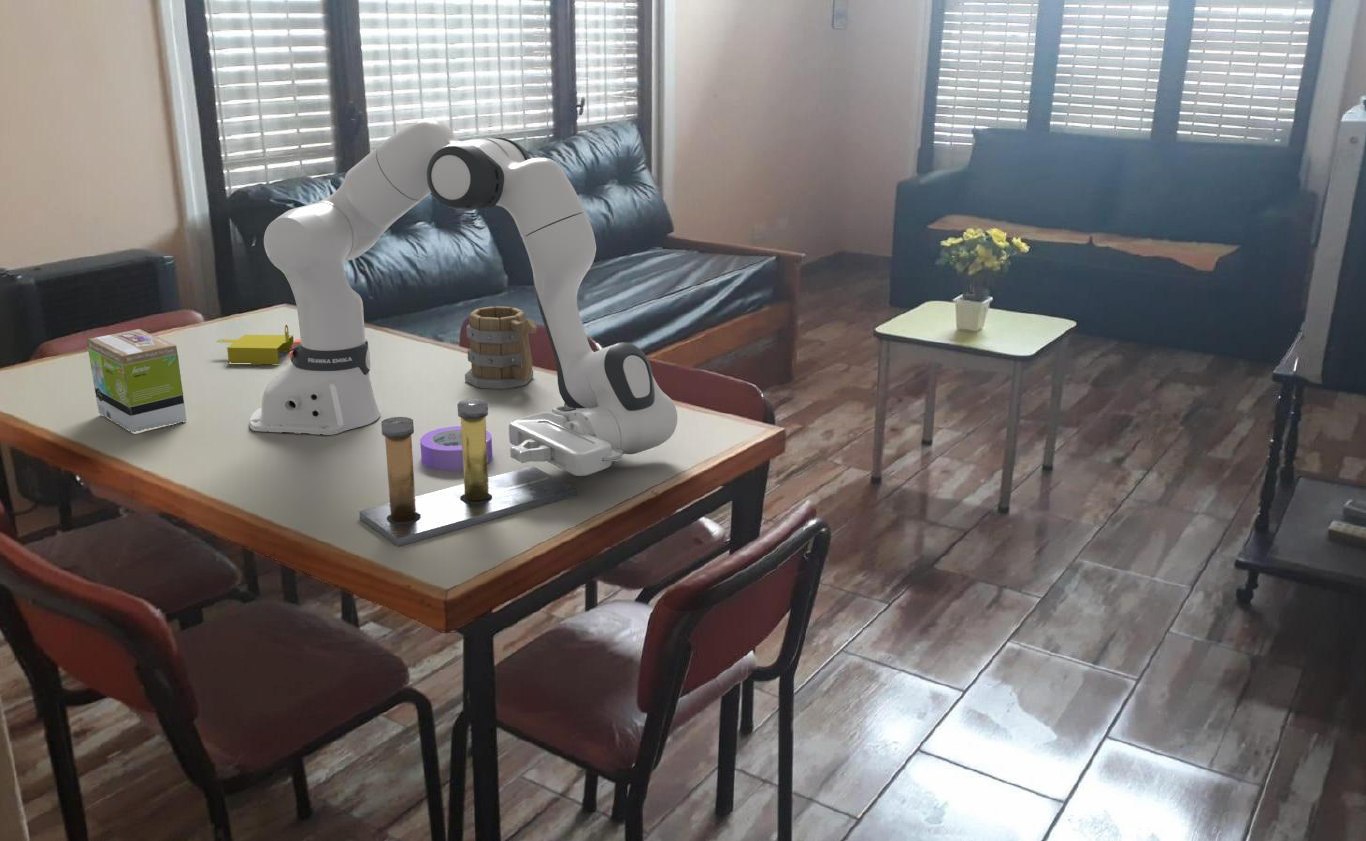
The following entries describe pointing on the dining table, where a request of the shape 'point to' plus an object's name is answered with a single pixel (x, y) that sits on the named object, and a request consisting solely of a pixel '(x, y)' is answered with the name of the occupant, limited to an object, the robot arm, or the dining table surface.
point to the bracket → (258, 348)
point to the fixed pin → (400, 467)
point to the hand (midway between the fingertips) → (515, 455)
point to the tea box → (137, 379)
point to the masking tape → (446, 448)
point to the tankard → (499, 348)
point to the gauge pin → (474, 448)
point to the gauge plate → (469, 505)
